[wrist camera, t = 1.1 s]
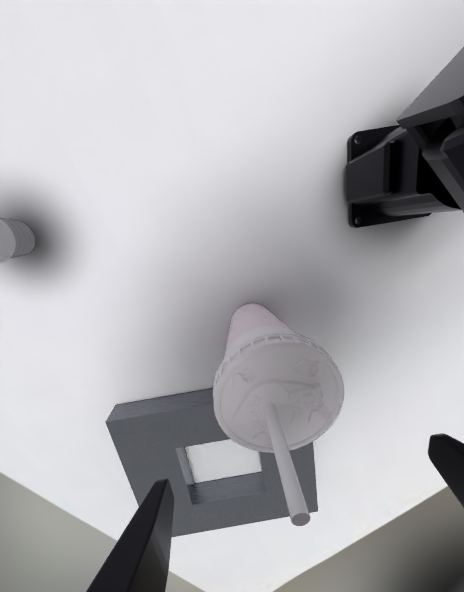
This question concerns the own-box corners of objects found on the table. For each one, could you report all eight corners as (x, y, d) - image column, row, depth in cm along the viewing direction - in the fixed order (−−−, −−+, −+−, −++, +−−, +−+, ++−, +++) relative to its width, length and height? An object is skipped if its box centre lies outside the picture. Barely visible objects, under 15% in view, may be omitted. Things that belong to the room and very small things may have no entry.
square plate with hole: (300, 373, 22) (308, 386, 20) (310, 490, 26) (318, 511, 24) (115, 405, 21) (105, 422, 19) (157, 517, 26) (152, 540, 24)
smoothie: (205, 301, 19) (171, 467, 6) (277, 278, 19) (421, 391, 5) (228, 363, 21) (245, 603, 7) (294, 342, 21) (436, 550, 7)
